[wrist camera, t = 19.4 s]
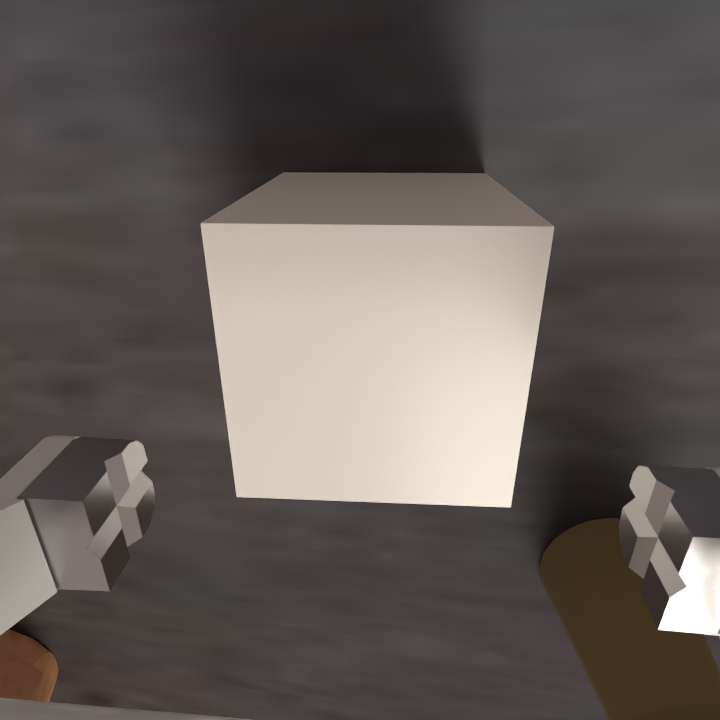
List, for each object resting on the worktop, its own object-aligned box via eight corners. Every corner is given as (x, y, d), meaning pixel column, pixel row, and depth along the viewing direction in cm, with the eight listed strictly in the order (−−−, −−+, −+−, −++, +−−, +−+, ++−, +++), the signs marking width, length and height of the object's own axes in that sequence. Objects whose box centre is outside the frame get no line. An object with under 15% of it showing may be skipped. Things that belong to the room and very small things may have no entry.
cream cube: (485, 173, 18) (554, 226, 10) (467, 357, 21) (510, 507, 13) (283, 172, 19) (200, 223, 11) (294, 353, 22) (236, 497, 14)
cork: (679, 593, 26) (851, 890, 16) (556, 620, 27) (647, 910, 18) (656, 503, 24) (841, 785, 14) (524, 537, 25) (607, 817, 15)
